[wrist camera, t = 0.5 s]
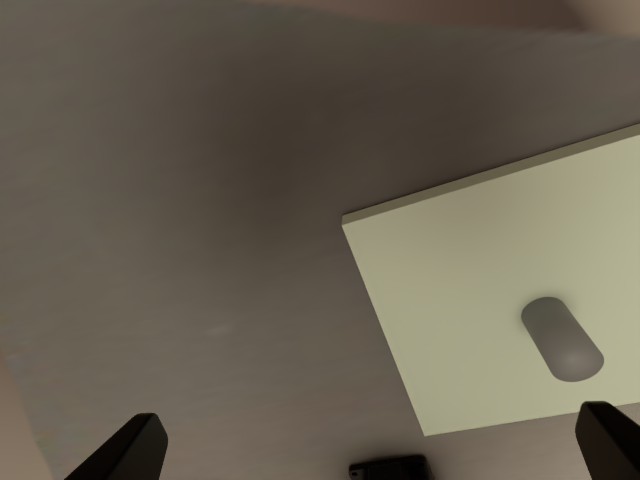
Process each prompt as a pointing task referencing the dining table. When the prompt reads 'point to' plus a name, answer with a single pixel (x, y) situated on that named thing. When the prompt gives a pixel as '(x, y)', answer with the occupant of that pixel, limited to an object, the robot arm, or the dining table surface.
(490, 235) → the pale green base plate
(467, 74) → the dining table surface
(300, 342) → the dining table surface
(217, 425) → the dining table surface
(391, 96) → the dining table surface
